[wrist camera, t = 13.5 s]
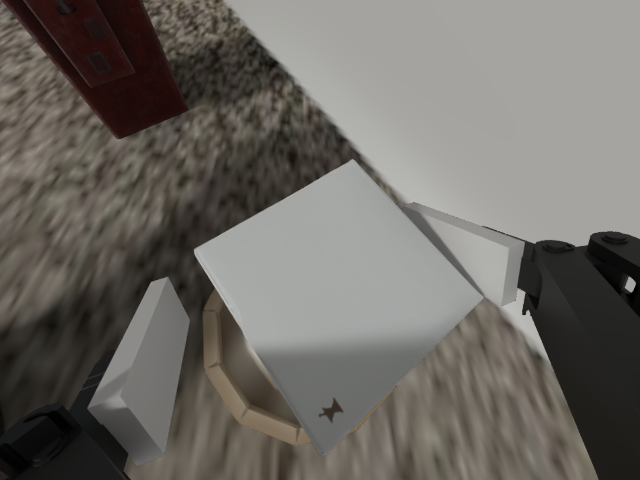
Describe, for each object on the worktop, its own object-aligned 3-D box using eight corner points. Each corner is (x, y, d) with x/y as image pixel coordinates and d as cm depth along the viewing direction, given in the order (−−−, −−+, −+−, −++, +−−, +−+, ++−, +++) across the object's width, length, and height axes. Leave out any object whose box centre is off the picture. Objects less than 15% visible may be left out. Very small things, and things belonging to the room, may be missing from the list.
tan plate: (173, 387, 22) (160, 391, 20) (260, 216, 29) (257, 205, 26) (369, 465, 21) (378, 479, 19) (411, 271, 28) (421, 265, 26)
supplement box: (383, 329, 25) (497, 301, 11) (304, 397, 22) (322, 474, 8) (324, 253, 27) (356, 151, 13) (246, 306, 24) (185, 248, 11)
